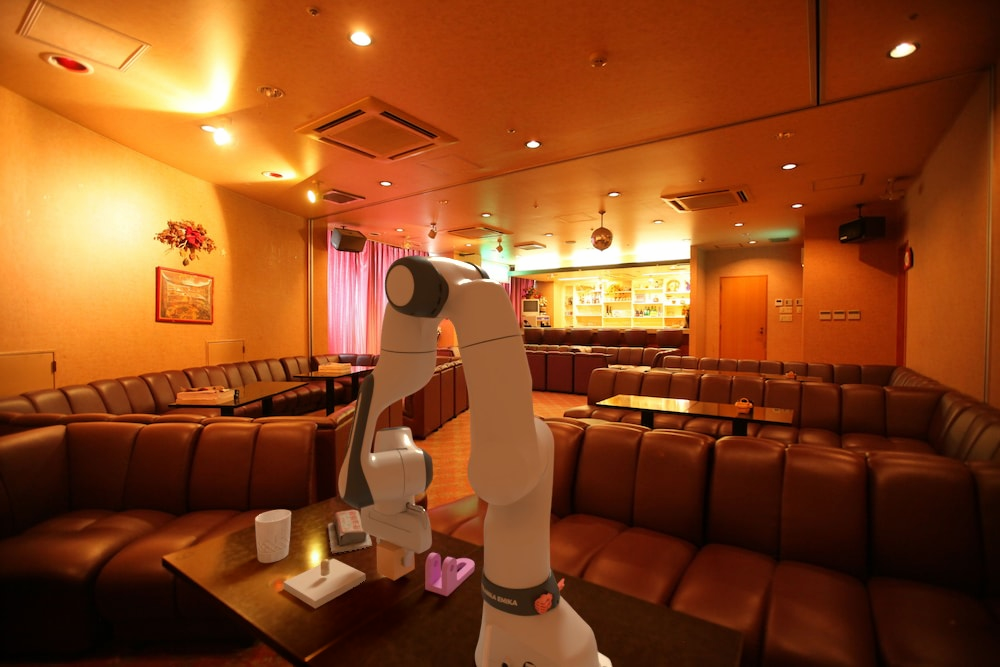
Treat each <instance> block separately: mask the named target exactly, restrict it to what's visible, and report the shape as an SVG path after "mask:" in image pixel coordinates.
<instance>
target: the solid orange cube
mask: <svg viewBox="0 0 1000 667" xmlns="http://www.w3.org/2000/svg"><path fill="white" fill-rule="evenodd" d="M405 554H406V553H405V552H404V548H403V547H400V546H398V545H395V544H392V543H390V542H387V541H384V542H382V543H380V544H376V573H378V574H379V575H381V576H384V577H385V578H387V579H390V580H392V581H396V580H398V579H400V578H401V577H404V575H406V574H408V573H410V572H412V571H413V570H415V569H416V568H415V565H416V564H415V563H416V561H415V553H414V554H413V556H412V564H411V566H409V567H407V568H406V567H404V566H402V565H401V563H402V562H401V558H403V557H405Z"/></svg>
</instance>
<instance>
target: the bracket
mask: <svg viewBox="0 0 1000 667" xmlns="http://www.w3.org/2000/svg"><path fill="white" fill-rule="evenodd" d="M424 564H425V565H424V567H425V568H424V569H425V571H424V573H425V575H424V576H425V578H424V579H425V580H424V582H425V584H424V585H425V590H426V591H429V592H432V593H435V594H439V595H441V596H445V597H449V596H450V594H452V593H453V592H454V591H455V590H456V589H457V588H458V587H459V586H460V585H461V584H463V582H465V580H467V579H468V578H469V577H470V576H471V575H472V574H473V573H474V572H475V568H476V567H475V566H476V564H475V561H474V560H473V559H470V558H467V557H461V558H457V559H456V558H455V557H451V556H447V557H445V559H444V560H443V562H442V557H441V554H440V553H438V552H437V553H436V552H431V553H429V554H428V555H427V557H426V560H425V563H424ZM458 570H459V571H458Z"/></svg>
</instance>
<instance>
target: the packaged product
mask: <svg viewBox="0 0 1000 667" xmlns="http://www.w3.org/2000/svg"><path fill="white" fill-rule="evenodd" d="M333 521H334V522H329V523H327V528H328V540H330V542H329V549H330V548H331V550H330V553H331V552H332V553H337V552H344V551H349V552H353V551H352V550H355V551H358V550H357V549H359V550H362V548H364V549H367V548H366V547H369V546H372V547H373V543H372V538H371V537H370V536H371V535H370V534H367V533H365V532H364V531H363V529H362V527H361V512H360V511H359V509H357V510H356V509H348V510H341V511H337V512H335V514H334V519H333ZM369 548H370V547H369ZM344 553H345V552H344Z"/></svg>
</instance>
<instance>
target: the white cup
mask: <svg viewBox="0 0 1000 667" xmlns="http://www.w3.org/2000/svg"><path fill="white" fill-rule="evenodd" d="M291 521H292V511H291V510H288V509H275V510H274V509H272V510H269V511H265V512H262V513H260V514H259V515H257V516H255V518H254V524H255V525H254V526H255V540H256V550H257V554H256V555H257V561H258V562H259V563H262V564H270V563H271V564H272V563H275V562H276V563H277V562H279V561H281V560H283V559H285V558H286V557H287V556H289V553H290V542H291V539H290V538H291V527H292V526H291Z"/></svg>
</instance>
